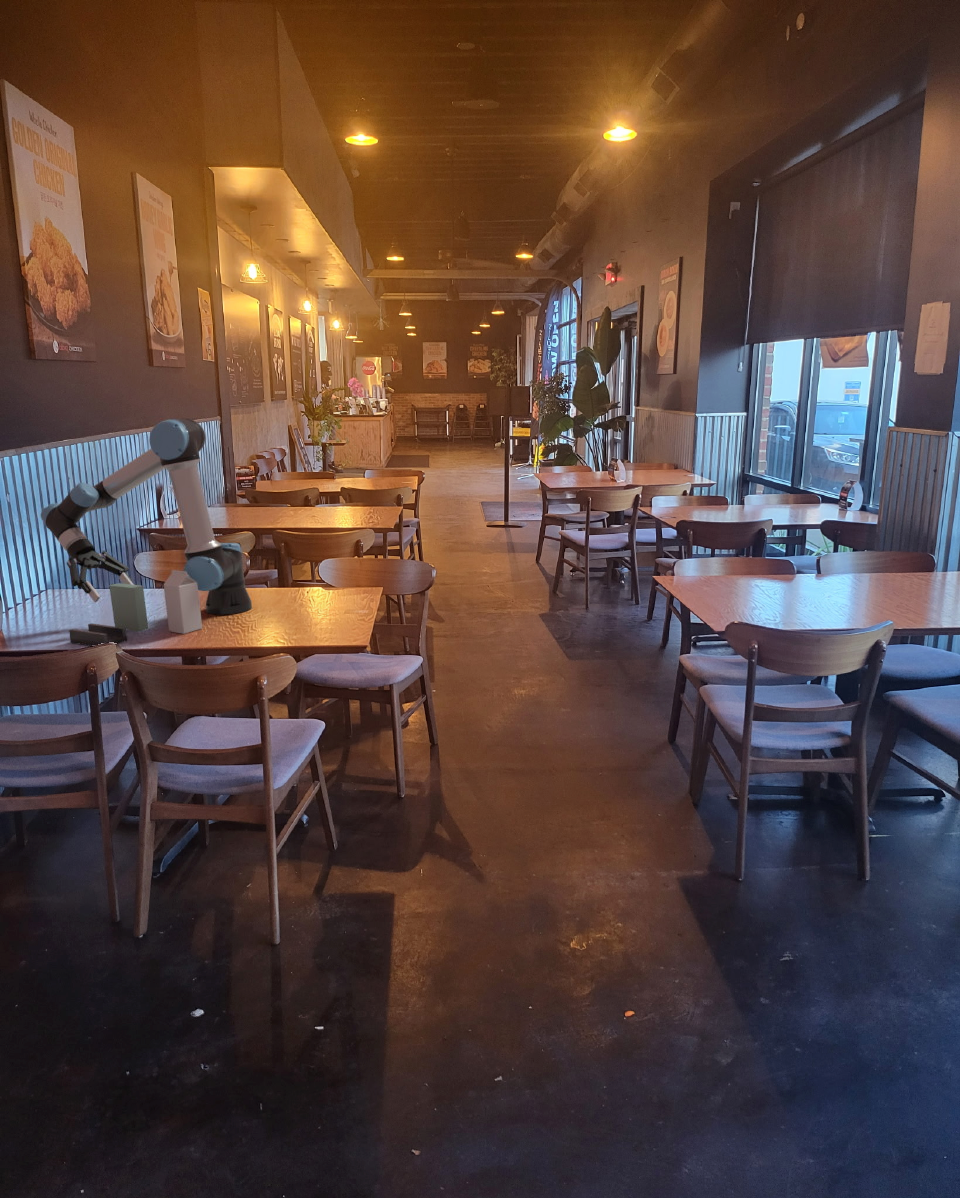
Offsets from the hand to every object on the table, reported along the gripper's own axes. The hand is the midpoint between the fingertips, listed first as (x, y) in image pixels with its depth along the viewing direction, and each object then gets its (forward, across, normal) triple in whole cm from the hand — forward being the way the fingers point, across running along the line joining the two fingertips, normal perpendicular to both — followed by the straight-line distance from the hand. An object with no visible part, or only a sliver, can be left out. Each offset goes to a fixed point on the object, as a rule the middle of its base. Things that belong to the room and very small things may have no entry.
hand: (115, 594), depth 268 cm
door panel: (+11, 0, -4) cm, 12 cm away
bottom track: (+13, +14, -2) cm, 19 cm away
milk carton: (+24, -6, +8) cm, 26 cm away
